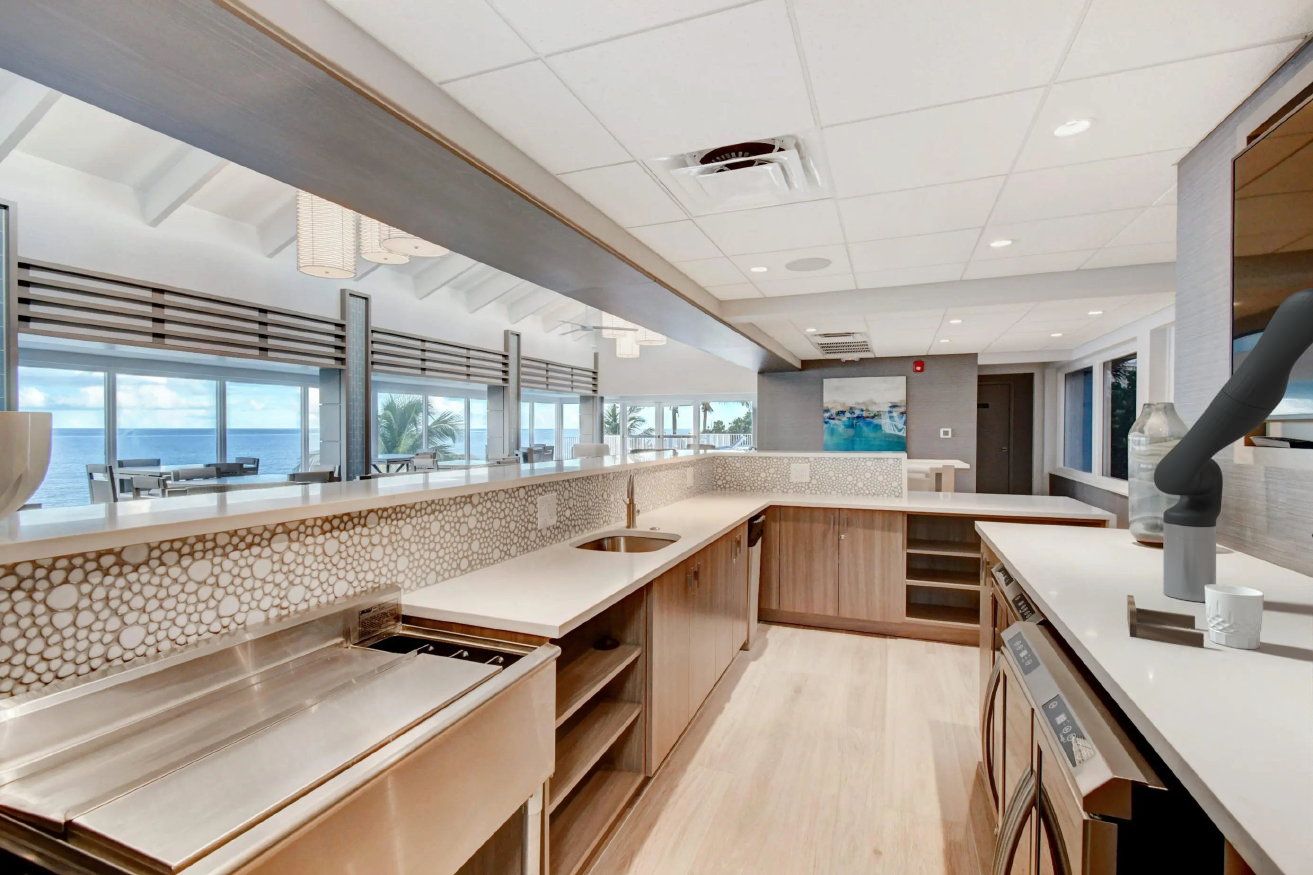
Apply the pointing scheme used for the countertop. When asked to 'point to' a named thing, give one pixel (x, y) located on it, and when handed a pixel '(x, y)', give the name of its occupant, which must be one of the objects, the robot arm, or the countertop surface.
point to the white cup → (1234, 615)
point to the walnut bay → (1162, 632)
